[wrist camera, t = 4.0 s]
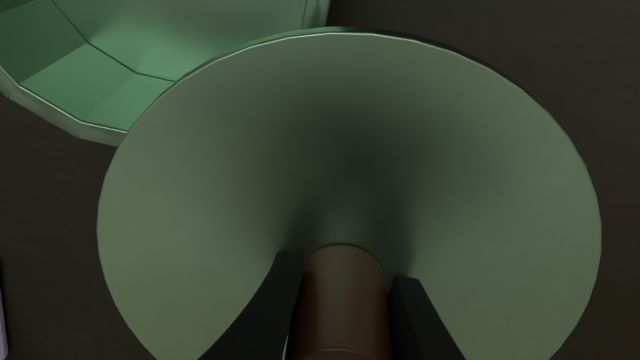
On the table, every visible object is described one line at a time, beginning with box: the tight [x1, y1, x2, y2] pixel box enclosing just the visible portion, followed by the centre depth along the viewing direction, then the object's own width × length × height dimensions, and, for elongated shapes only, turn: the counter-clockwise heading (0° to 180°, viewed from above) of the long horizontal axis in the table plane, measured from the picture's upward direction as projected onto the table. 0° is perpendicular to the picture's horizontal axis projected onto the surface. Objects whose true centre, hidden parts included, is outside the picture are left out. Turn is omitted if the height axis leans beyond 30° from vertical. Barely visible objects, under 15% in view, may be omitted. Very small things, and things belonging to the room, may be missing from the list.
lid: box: [97, 27, 601, 360], centre depth 13 cm, size 13×13×5 cm
